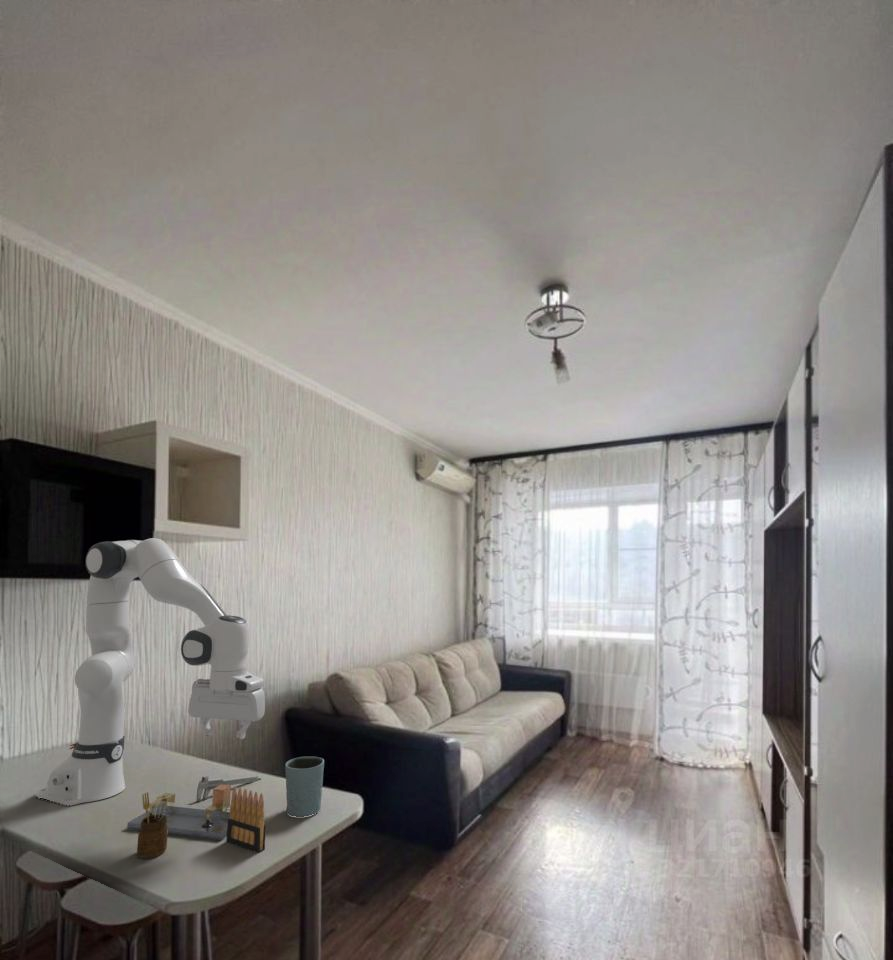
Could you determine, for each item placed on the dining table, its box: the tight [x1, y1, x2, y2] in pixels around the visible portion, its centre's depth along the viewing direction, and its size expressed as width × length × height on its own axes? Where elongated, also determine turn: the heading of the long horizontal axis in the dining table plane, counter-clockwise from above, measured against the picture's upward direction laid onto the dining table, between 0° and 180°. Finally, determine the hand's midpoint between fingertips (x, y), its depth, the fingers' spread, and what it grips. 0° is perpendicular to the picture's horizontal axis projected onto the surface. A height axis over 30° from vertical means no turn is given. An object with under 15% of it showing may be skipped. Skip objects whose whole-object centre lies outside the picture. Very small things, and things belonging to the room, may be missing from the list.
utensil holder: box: [136, 791, 169, 860], centre depth 125 cm, size 6×6×12 cm
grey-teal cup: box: [284, 755, 325, 817], centre depth 146 cm, size 10×10×12 cm
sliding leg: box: [205, 784, 232, 824], centre depth 137 cm, size 3×7×6 cm, turn 167°
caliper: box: [196, 775, 262, 802], centre depth 159 cm, size 20×1×6 cm, turn 145°
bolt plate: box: [126, 792, 230, 841], centre depth 137 cm, size 26×10×5 cm, turn 77°
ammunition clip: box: [225, 785, 266, 854], centre depth 128 cm, size 11×2×12 cm, turn 61°
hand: (224, 737), depth 141 cm, fingers open, 8 cm apart
